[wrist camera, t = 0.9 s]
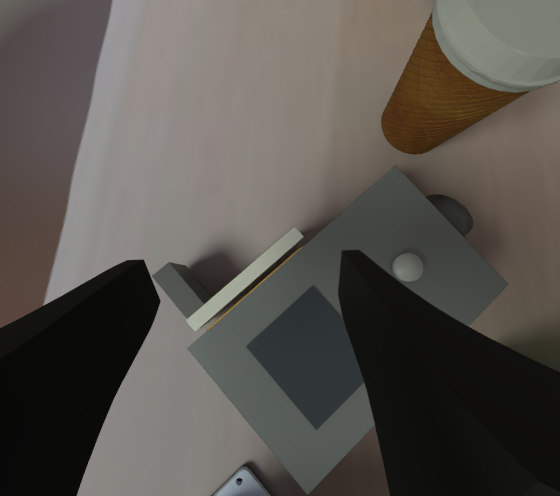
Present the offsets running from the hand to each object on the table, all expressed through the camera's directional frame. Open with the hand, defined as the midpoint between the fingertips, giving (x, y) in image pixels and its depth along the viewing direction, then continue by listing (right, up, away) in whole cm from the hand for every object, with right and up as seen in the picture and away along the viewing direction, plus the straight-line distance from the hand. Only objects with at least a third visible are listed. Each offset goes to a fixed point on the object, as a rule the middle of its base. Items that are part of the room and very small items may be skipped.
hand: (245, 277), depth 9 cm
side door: (-3, 0, +13) cm, 13 cm away
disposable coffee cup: (+15, +13, +16) cm, 25 cm away
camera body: (+6, -4, +13) cm, 15 cm away
